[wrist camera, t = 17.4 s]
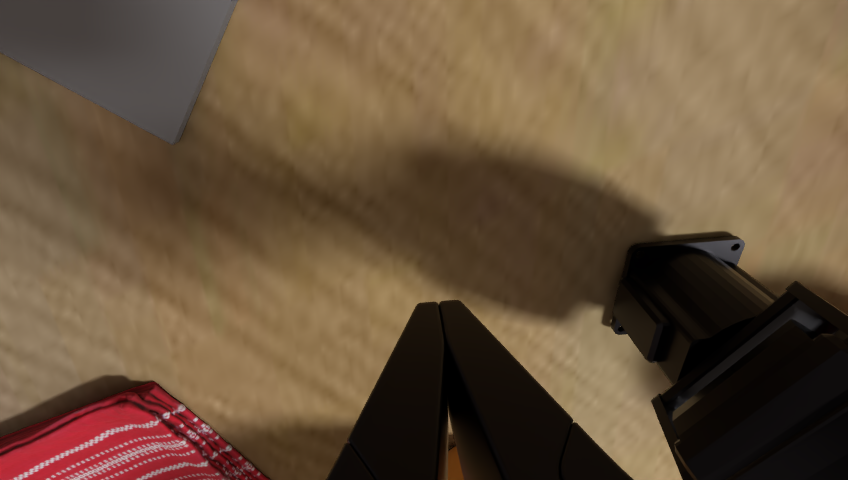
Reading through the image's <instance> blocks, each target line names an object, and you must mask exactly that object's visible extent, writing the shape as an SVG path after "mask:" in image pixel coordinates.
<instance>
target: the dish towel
mask: <svg viewBox="0 0 848 480" xmlns="http://www.w3.org/2000/svg"><path fill="white" fill-rule="evenodd" d="M0 480H271V479H269V478H267V477H265V476H264V475H263V474H262V473H261V472H260V471H259V470H257V469H256V468H255V467H254V466H253V464H252V463H251V462H249V461H248V460H247V459H245V458H244V457H243V456H242V455H241V454H240V453H239V452H237V451H236V450H235V449H234V448H233V447H232V446H231V445H230V444H229V443H227V442H225V441H224V440H223V439H222V438H221V437H220V436H219V435H218V434H217V433H216V432H215V431H214V430H213V429H212V428H211V427H210V426H209V425H208V424H206V423H205V422H203V421H202V420H201V419H199V418H198V417H197V416H196V415H194V414H193V413H192V412H191V411H190V410H189V409H187V408H186V407H185V405H183V404H181V403H179V402H178V401H177V400H176V399H174V398H173V397H171V396H170V395H169V394H168V393H167V392H166V391H165V390H164V389H163V388H162V387H161V386H160V385H159V384H157V383H156V382H149V383H147V384H144V385H141V386H137V387H134V388H131V389H129V390H126V391H123V392H121V393H118V394H115V395H112V396H110V397H107V398H105V399H102V400H99V401H97V402H94V403H91V404H88V405H86V406H83V407H80V408H77V409H75V410H72V411H70V412H67V413H64V414H62V415H59V416H56V417H53V418H51V419H48V420H46V421H43V422H40V423H37V424H35V425H32V426H29V427H26V428H23V429H21V430H19V431H16V432H13V433H11V434H8V435H4V436H3V437H0Z"/></svg>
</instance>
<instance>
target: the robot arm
mask: <svg viewBox="0 0 848 480" xmlns="http://www.w3.org/2000/svg"><path fill="white" fill-rule="evenodd" d="M732 245H733V246H732ZM744 245H745V243H744V241H743V240H741V239H740V238H738V237H737V236H727V237H714V238H702V239H689V240H676V241H664V242H651V243H638V244H635V245H633V246H631V247H630V249H629V250H628V254H627V258H626V262H625V267H624V271H623V275H622V279H621V280H620V282H619V287H618V291H617V295H616V300H615V304H614V309H613V314H614V315H613V319H612V324H611V328H612V329H613V331H614V332H615V333H616V334H618V335H622V334H628V335H629V337H630V338H631V339H632V341H633V342H634V344H635V345H636V346H637V348H638V349H639V351H640V352H641V353H642V355H643V356H644V358H645V359H646V360H647V361H649V362H650V363H654V362H656V363H657V365H658V366H659V368H660V369H661V370H662V372H663V373H664V374H665V376H666V377H667V378H668V380H669V381H670V382H671V384H672V386H671V387H670V388H669V389H668V390H666V391H665V392H664V393H663V394H658V395H657V396H656V397H655V398H653V399H652V400H651V402H652V404H653V407H654V409H655V412H656V414H657V417H658V420H659V422H660V425H661V427H662V430H663V432H664V435H665V437H666V440H667V442H668V444H669V447H670V449H671V452H672V454H673V457H674V459H675V462H676V464H677V467H678V469H679V472H680V474H681V476H682V479H683V480H848V315H847V314H846V313H844V312H843V311H841V310H840V309H838V308H836V307H835V306H833V305H832V304H830V303H829V302H827V301H826V300H824V299H823V298H821V297H820V296H818V295H817V294H815V293H814V292H812V291H811V290H809V289H808V288H806V287H805V286H803V285H802V284H800V283H798V282H797V281H795V282H794V283H792V284H791V285H790V286H789V287H787V288H786V290H787V291H786V292H785V293H784V294H783V295H781V296H780V297H778V296H777V295H776V294H774V293H773V292H772V291H770V290H769V289H768V288H766V287H765V286H764V285H762V284H761V283H759V282H758V281H757V280H755V279H754V278H753V277H751V276H750V275H749V274H747V273H746V272H745V271H743V270H742V269H741V268H739V267H738V266H737V264H738V261H739V259H740V256H741V254H742V251H743V248H744ZM639 251H641V252H640V253H639V254H637V252H639ZM636 254H637V255H636ZM620 326H621V327H620ZM448 410H449V417H450V422H451V426H452V431H453V435H454V439H455V444H456V448H457V452H458V456H459V461H460V465H461V469H462V473H463V477H464V480H633V479H632V478H631V477H630V476H629V475H628V474H627V473H626V472H625V471H624V470H622V469H621V468H620V467H619V466H618V465H617V464H616V463H615V462H614V461H613V460H612V459H611V458H610V457H609V456H608V455H607V454H606V453H605V452H604V451H603V450H602V449H601V448H600V447H599V446H598V445H597V444H596V443H595V442H594V441H593V440H592V438H591V437H590V436H589V435H588V434H587V433H586V432H585V431H584V430H583V429H582V428H581V427H580V426H579V425H578V424H577V423H576V422H574V423H573V419H572V418H571V417H570V415H569V414H568V413H567V412H566V411H565V410H564V409H563V408H562V407H561V406H560V405H559V404H558V403H557V402H556V401H555V400H554V399H553V398H552V397H551V396H550V394H549V393H548V392H547V391H546V390H545V389H544V388H543V387H542V386H541V385H540V384H539V383H538V382H537V381H536V380H535V379H534V378H533V377H532V376H531V374H530V373H529V372H528V371H527V370H526V369H525V368H524V367H523V366H522V365H521V364H520V363H519V362H518V361H517V360H516V359H515V358H514V357H513V356H512V355H511V353H510V352H509V351H508V350H507V349H506V348H505V347H504V346H503V345H502V344H501V343H500V342H499V341H498V340H497V339H496V338H495V337H494V336H493V335H492V333H491V332H490V331H489V330H488V329H487V328H486V327H485V326H484V325H483V324H482V323H481V322H480V321H479V320H478V319H477V318H476V317H475V316H474V315H473V314H472V312H471V311H470V310H469V309H468V308H467V307H466V306H465V305H464V304H463V303H462V302H461V301H459V300H449V301H441V302H440V303H439V304H438V303H437V302H425V303H419V304H417V306H416V307H415V309H414V311H413V313H412V315H411V317H410V319H409V321H408V323H407V325H406V327H405V329H404V330H403V332H402V334H401V336H400V338H399V340H398V342H397V344H396V346H395V348H394V350H393V352H392V354H391V356H390V358H389V360H388V361H387V363H386V365H385V367H384V369H383V371H382V373H381V375H380V377H379V379H378V381H377V383H376V385H375V387H374V389H373V391H372V393H371V394H370V396H369V398H368V400H367V402H366V404H365V406H364V408H363V410H362V412H361V414H360V416H359V418H358V420H357V422H356V424H355V425H354V427H353V429H352V431H351V433H350V435H349V437H348V439H347V441H348V443H346V444H345V445H344V446H343V448H342V450H341V452H340V454H339V456H338V458H337V460H336V462H335V464H334V466H333V468H332V469H331V471H330V473H329V475H328V477H327V478H326V480H448Z"/></svg>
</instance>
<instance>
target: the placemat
mask: <svg viewBox="0 0 848 480" xmlns="http://www.w3.org/2000/svg"><path fill="white" fill-rule="evenodd" d="M237 1H238V0H0V53H2V54H4V55H6V56H8V57H10V58H12V59H13V60H15V61H17V62H19V63H21V64H23V65H25V66H26V67H28V68H30V69H32V70H34V71H36V72H38V73H40V74H41V75H43V76H45V77H47V78H49V79H51V80H53V81H54V82H56V83H58V84H60V85H62V86H64V87H66V88H67V89H69V90H71V91H73V92H75V93H77V94H79V95H80V96H82V97H84V98H86V99H88V100H90V101H92V102H93V103H95V104H97V105H99V106H101V107H103V108H105V109H106V110H108V111H110V112H112V113H114V114H116V115H118V116H119V117H121V118H123V119H125V120H127V121H129V122H131V123H133V124H134V125H136V126H138V127H140V128H142V129H144V130H146V131H147V132H149V133H151V134H153V135H155V136H157V137H159V138H160V139H162V140H164V141H166V142H168V143H170V144H172V145H174V144H176V143H177V142H179V140H180V138H181V135H182V133H183V131H184V128H185V126H186V123H187V121H188V119H189V116H190V114H191V111H192V109H193V107H194V104H195V102H196V99H197V97H198V95H199V92H200V90H201V87H202V85H203V82H204V80H205V78H206V75H207V73H208V70H209V68H210V66H211V63H212V61H213V58H214V56H215V54H216V51H217V49H218V46H219V44H220V42H221V39H222V37H223V34H224V32H225V30H226V27H227V25H228V22H229V20H230V18H231V15H232V13H233V10H234V8H235V6H236V3H237Z"/></svg>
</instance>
